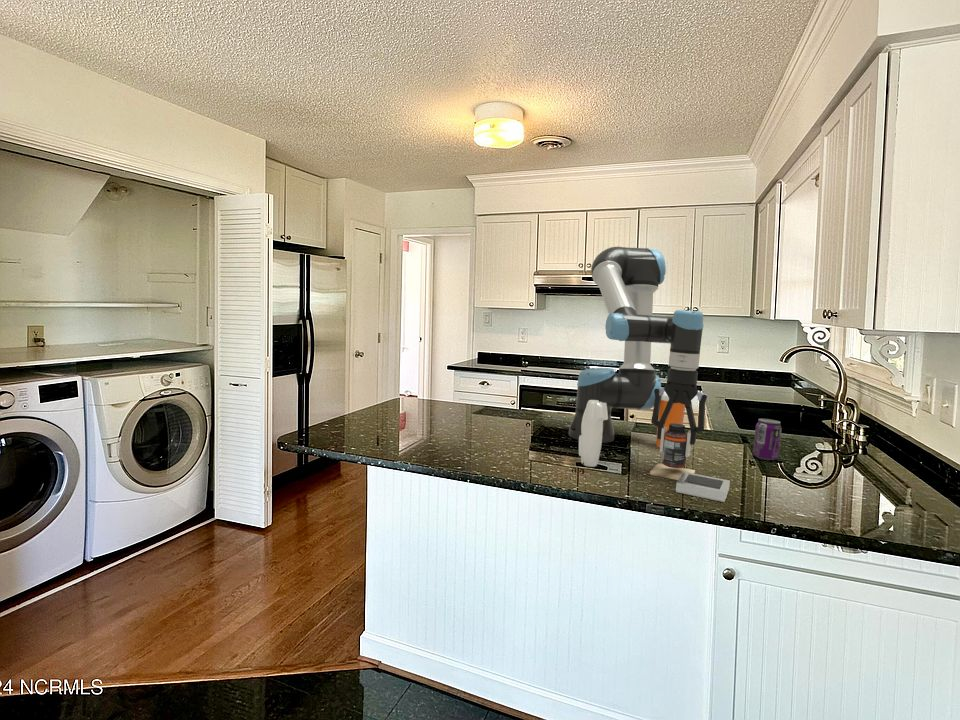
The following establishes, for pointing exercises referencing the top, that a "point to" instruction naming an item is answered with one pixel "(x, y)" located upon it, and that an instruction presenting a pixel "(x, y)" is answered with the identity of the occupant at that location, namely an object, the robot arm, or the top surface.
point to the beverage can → (767, 439)
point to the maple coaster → (669, 471)
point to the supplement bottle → (675, 446)
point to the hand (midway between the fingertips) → (674, 453)
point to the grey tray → (703, 486)
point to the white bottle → (592, 432)
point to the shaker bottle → (670, 414)
